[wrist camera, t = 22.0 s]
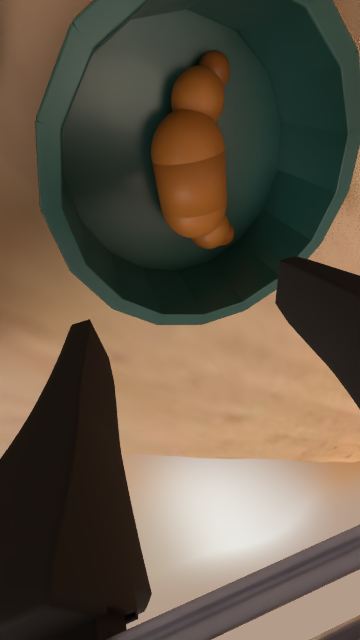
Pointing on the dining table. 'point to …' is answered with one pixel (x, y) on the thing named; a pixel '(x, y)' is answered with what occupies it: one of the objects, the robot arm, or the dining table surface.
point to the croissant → (195, 155)
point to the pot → (239, 139)
